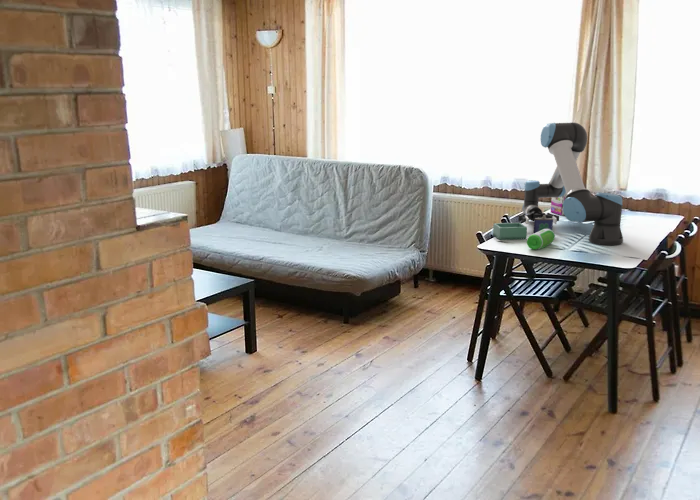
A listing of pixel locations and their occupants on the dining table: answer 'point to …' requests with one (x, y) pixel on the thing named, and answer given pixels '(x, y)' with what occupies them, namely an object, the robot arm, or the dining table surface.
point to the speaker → (540, 239)
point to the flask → (543, 223)
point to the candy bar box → (558, 205)
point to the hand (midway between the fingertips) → (541, 221)
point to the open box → (509, 231)
